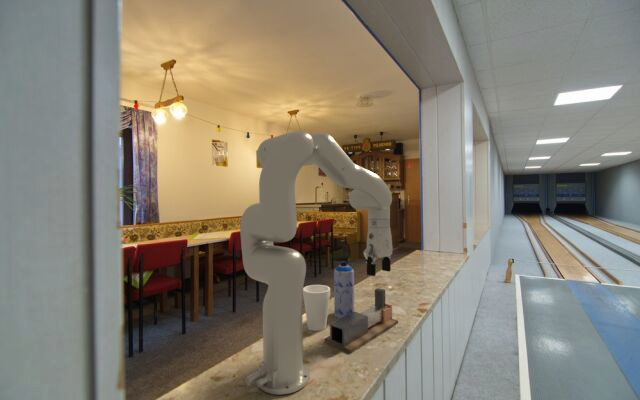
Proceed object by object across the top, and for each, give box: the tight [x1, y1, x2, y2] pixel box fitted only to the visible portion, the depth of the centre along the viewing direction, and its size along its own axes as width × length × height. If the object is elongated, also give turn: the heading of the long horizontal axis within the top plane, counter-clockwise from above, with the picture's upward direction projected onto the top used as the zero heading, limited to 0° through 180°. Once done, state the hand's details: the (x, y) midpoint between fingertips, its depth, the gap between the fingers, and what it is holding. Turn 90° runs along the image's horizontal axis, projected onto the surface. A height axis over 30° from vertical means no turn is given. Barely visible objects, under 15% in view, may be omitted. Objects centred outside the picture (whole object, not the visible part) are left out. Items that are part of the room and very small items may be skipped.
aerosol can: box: [333, 260, 355, 319], centre depth 108 cm, size 8×8×20 cm
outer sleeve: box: [329, 311, 368, 347], centre depth 88 cm, size 12×5×5 cm, turn 136°
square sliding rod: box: [360, 287, 388, 328], centre depth 97 cm, size 16×4×10 cm, turn 136°
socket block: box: [370, 302, 393, 323], centre depth 102 cm, size 5×5×5 cm
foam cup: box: [302, 284, 331, 332], centre depth 98 cm, size 10×9×13 cm
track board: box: [323, 318, 399, 354], centre depth 94 cm, size 27×10×1 cm, turn 136°
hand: (378, 273), depth 101 cm, fingers open, 9 cm apart
